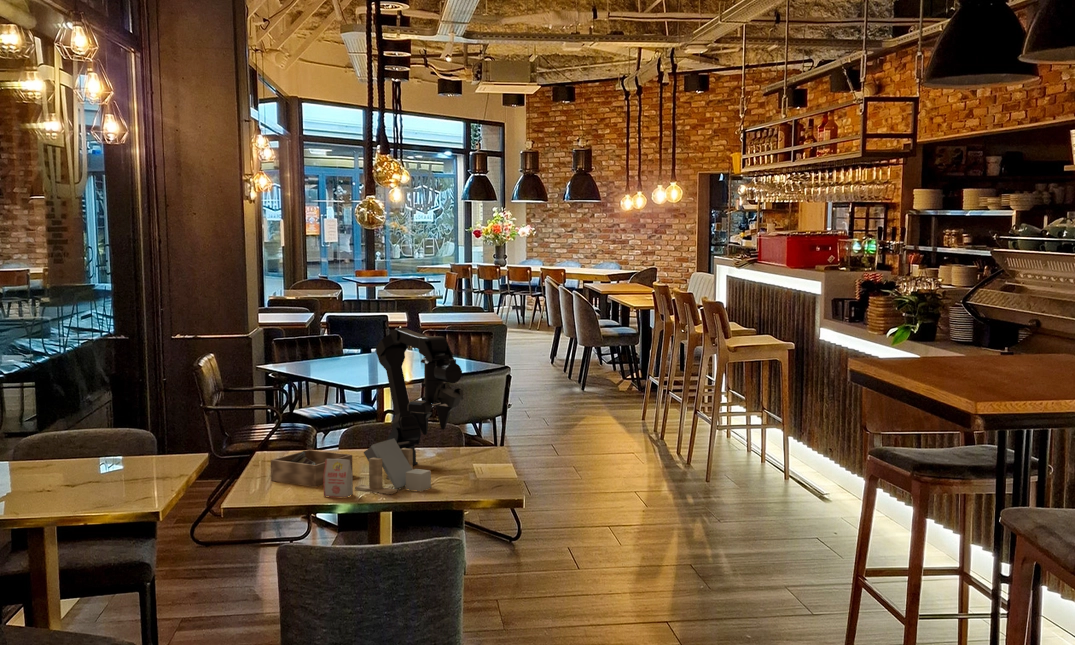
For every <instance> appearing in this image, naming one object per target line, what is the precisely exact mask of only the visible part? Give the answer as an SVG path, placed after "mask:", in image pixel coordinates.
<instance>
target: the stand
mask: <svg viewBox="0 0 1075 645" xmlns="http://www.w3.org/2000/svg"><path fill="white" fill-rule="evenodd" d="M401 451H402V452H403V454H404V456H405V458H406V459H407V461H408V463H409V464H410V466H411V468H412V470H414V468H413V466H414V465H413V449H409V448H402V449H401ZM385 479H387V480H390V479H389V477H388V475H386V478H385ZM368 483H369V484H368V485H367V484H360V485H357V486H355V487H354V490H355V489H356V490H355V491H360V490H364V491H363V492H367V491H372V492H371V493H374V492H379V493H378V494H382V493H386V494H385V495H389V494H391V495H393V494H392V493H394V494H396V493H395V492H397V493H398V489H395V488H389V487H383V484H384V483H383V467H382V458H370V459H369V461H368Z"/></svg>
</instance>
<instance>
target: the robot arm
mask: <svg viewBox="0 0 1075 645" xmlns="http://www.w3.org/2000/svg"><path fill="white" fill-rule="evenodd" d="M409 347H413V348H415V349H417V350H418V353H419V354H420V355H422V356H423V358H422V359H421V360H420V363H421V364H424V366H423V368H424V369H423V371H424V373H423V374H424V377H423V378H424V379H423V380H424V382H421V385H420V386H421V388H424V390H423V391H424V394H423V396H421V399H419V400H418V399H416V400H412V401H410V400H409V396H408V390H407V387H406V381H405V376H404V371H403V363H404V362H405V359H406V354H405V352H406V351H407V350H408V348H409ZM375 353H376V355H377V359H378V362H379V364H380V365H381V366H382V367H383V369H384V370H385V371H386V376H387V382H388V385H389V390H390V396H391V401H392V407H393V411H394V417H393V419H392V423H391V428H392V429H391V432H390V433H389V435H388V437H387V439H386V440H390V439H393V438H394V439H395V440H396V442H397V444H398V446H399V447H400V449H402V448H409V449H413V466H415V465H418V464H419V462H418V461H416V460H417V450H416V447H415V446H416V445H417V446H418V445H420V441H421V437H422V435H424V436H427V435H428V429H429V418H430V416H431V415H433V411H432V410H433V407H435V408H436V412H437V417H438V422H439V427H440V429H441V430H442V431H443V430H446V427H447V424H448V422H449V421H448V420H449V417H450V414H451V412H452V411H453V410H455V408H457V407H459V405H460V403H461V401H463V400H464V389H462V388H461V387H455V389H452V388H449V385H448V383H449V384H456V383H457V382H459V381H460V380H461V378H462V376H463V370H462V368H461V366H460V365H459V363H457V359H455V357H454V354H453V351H452V350H451V348H450V346H449V343H448V341H447V339H446V337H445V336H441V335H439V336H438V335H437V336H436V335H435V336H434V335H433V336H431V335H430V336H428V335H425V334H422V333H419V332H416V331H414V330H411V329H409V328H407V327H402V328H395V329H393V330H392V331H391V332H390V333H389V334H387V335H386V336H384V337H383V338H382V339H381V340H380V341H379V343H378V344H377V345H376V347H375Z"/></svg>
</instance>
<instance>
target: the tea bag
mask: <svg viewBox="0 0 1075 645" xmlns="http://www.w3.org/2000/svg"><path fill="white" fill-rule="evenodd" d="M353 478H354V477H353V475H352V469H351V465H350V460H344V459H326V460H325V468H324V474H323V485H322V486H323V497H324V496H329V497H328V498H334V497H348V496H350V495H352V494H354V490H353V488H354V487H353V483H354V482H353V480H354V479H353ZM352 496H353V495H352ZM350 497H351V496H350Z"/></svg>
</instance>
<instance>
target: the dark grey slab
mask: <svg viewBox="0 0 1075 645" xmlns="http://www.w3.org/2000/svg"><path fill="white" fill-rule="evenodd" d="M363 455H364V456H365V458H366V459H367V461H368V462H369V459H370V458H382V470H384V472H385V474H386V476H388V477H389V479H388V480H389V481H390V482H391V484H392V486H393V489H397V490H398V489H402V488H403V487H406V472H408V471H411V470H412V468H411V466H410V464H409V463H408V461H407V459H406V458H405V456H404V454H403V452H402V451H401V449H400V447H399V446H398V444H397V442H396V440H395V439H394V438H393V439H390V440H387V439H386V440H384V441H380V442H376V443H374V444H371V446H369V448H367V449H366V450H365V451H364V452H363Z"/></svg>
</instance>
